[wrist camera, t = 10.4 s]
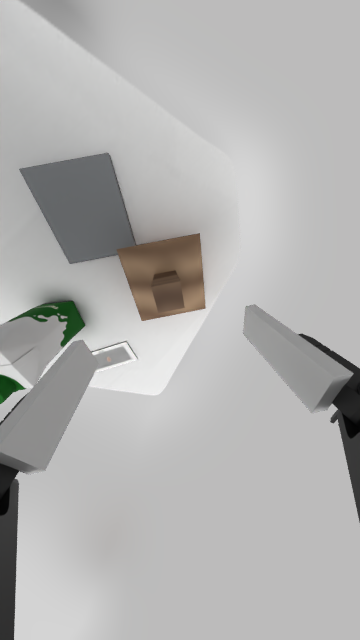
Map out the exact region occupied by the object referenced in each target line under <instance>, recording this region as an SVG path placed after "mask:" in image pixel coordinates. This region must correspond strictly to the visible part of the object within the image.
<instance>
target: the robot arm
mask: <svg viewBox="0 0 360 640" xmlns="http://www.w3.org/2000/svg"><path fill="white" fill-rule="evenodd" d="M243 334H244V335H245V337H246V338H247V339H248V340H249V341H250V342H251V344H252V345H253V346H254V347H255V348H256V349H257V350H258V352H259V353H260V354H261V355H262V356H263V357H264V359H265V360H266V361H267V362H268V363H269V364H270V365H271V366H272V368H273V369H274V370H275V371H276V372H277V374H278V375H279V376H280V377H281V378H282V379H283V381H284V382H285V383H286V384H287V385H288V386H289V387H290V389H291V390H292V391H293V392H294V393H295V394H296V396H297V397H298V398H299V399H300V400H301V401H302V403H303V404H304V405H305V406H306V407H307V408H308V409H309V411H310V412H311V413H315V412H320V411H325V410H327V409H328V408H329V406H330V405H331V404H334V405H335V406H336V407H337V408H338V410H337V411H336V412H335V413H334V415H333V416H332V417H331V421H330V422H331V423H334V422H335V421H336V420H337V419H338V423H339V427H340V432H341V437H342V441H343V446H344V451H345V455H346V460H347V465H348V470H349V474H350V479H351V484H352V488H353V493H354V498H355V502H356V507H357V512H358V516H359V521H360V369H359V368H358V367H357V366H355V365H353V364H352V363H350V362H349V361H347V360H346V359H344V358H343V357H341V356H340V355H338V354H337V353H335V352H334V351H331V350H330V349H329V348H327V347H326V346H323V345H322V344H321V343H320V342H318V341H317V340H315V339H313V338H311V337H309V336H306V335H304V334H296V333H295V332H293V331H292V330H291V329H289V328H288V327H286V326H285V325H283V324H282V323H280V322H279V321H278V320H276V319H275V318H273V317H272V316H270V315H269V314H267V313H266V312H265V311H263V310H262V309H260V308H259V307H258V306H256V305H250V306H246V307H245V318H244V330H243ZM98 365H99V363H98V362H97V360H96V359H95V357H94V356H93V354H92V353H91V351H90V350H89V348H88V347H87V345H86V344H85V342H84V341H83V340H79V341H74V342H72V343H71V345H70V346H69V347H68V348H67V349H66V350H65V352H64V353H63V354H62V355H61V356H60V357H59V358H58V360H57V361H56V362H55V363H54V364H53V365H52V366H51V368H50V369H49V370H48V371H47V372H46V373H45V375H44V376H43V377H42V378H41V379H40V380H39V381H38V383H37V384H36V385H35V386H34V387H33V389H32V390H31V391H30V392H29V393H28V394H27V395H25V396H24V397H23V398H22V399H21V400H20V401H19V402H18V403H17V404H16V405H15V406H14V408H13V409H12V411H11V412H9V413H8V414H7V416H6V417H5V418H4V420H3V421H1V422H0V640H14V619H15V587H16V555H17V554H16V553H17V522H18V521H17V520H18V490H19V483H18V480H17V479H14V478H15V477H16V475H17V473H18V472H19V471H20V472H23V473H26V474H34V473H39V472H43V471H45V469H46V468H47V465H48V464H49V462H50V460H51V458H52V456H53V454H54V452H55V450H56V448H57V446H58V444H59V442H60V440H61V438H62V436H63V434H64V432H65V430H66V428H67V426H68V424H69V422H70V420H71V418H72V416H73V414H74V412H75V410H76V408H77V406H78V404H79V402H80V400H81V398H82V396H83V394H84V392H85V390H86V388H87V386H88V384H89V382H90V380H91V379H92V377H93V375H94V373H95V371H96V369H97V367H98Z"/></svg>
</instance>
